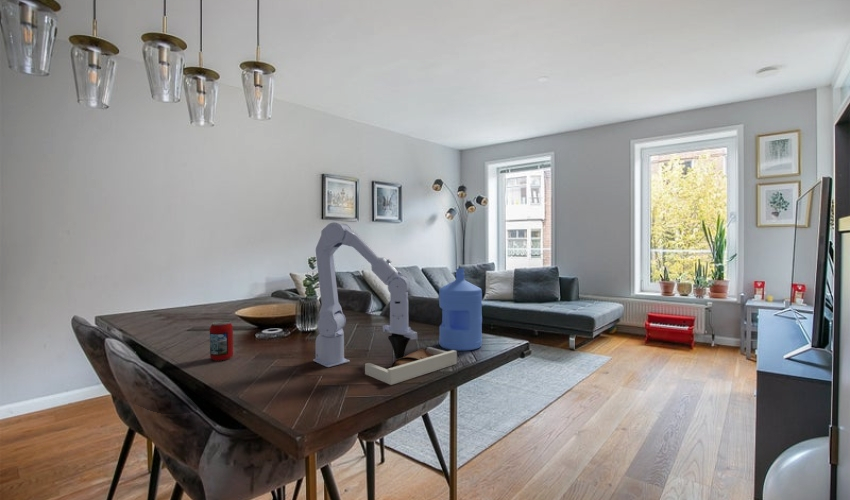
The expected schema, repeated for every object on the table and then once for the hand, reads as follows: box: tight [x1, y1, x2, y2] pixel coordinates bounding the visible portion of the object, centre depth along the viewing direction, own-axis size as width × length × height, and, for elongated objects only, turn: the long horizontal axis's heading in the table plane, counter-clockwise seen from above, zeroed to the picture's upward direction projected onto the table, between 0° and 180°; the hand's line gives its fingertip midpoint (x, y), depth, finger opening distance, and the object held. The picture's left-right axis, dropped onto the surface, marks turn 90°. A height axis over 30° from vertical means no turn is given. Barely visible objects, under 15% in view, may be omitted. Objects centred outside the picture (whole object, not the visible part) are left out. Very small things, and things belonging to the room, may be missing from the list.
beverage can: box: [209, 320, 234, 362], centre depth 131 cm, size 7×7×12 cm
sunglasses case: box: [390, 347, 434, 368], centre depth 123 cm, size 18×7×7 cm
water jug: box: [438, 268, 483, 352], centre depth 145 cm, size 16×16×28 cm
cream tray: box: [364, 346, 458, 386], centre depth 120 cm, size 12×26×4 cm, turn 133°
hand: (399, 358), depth 124 cm, fingers closed
